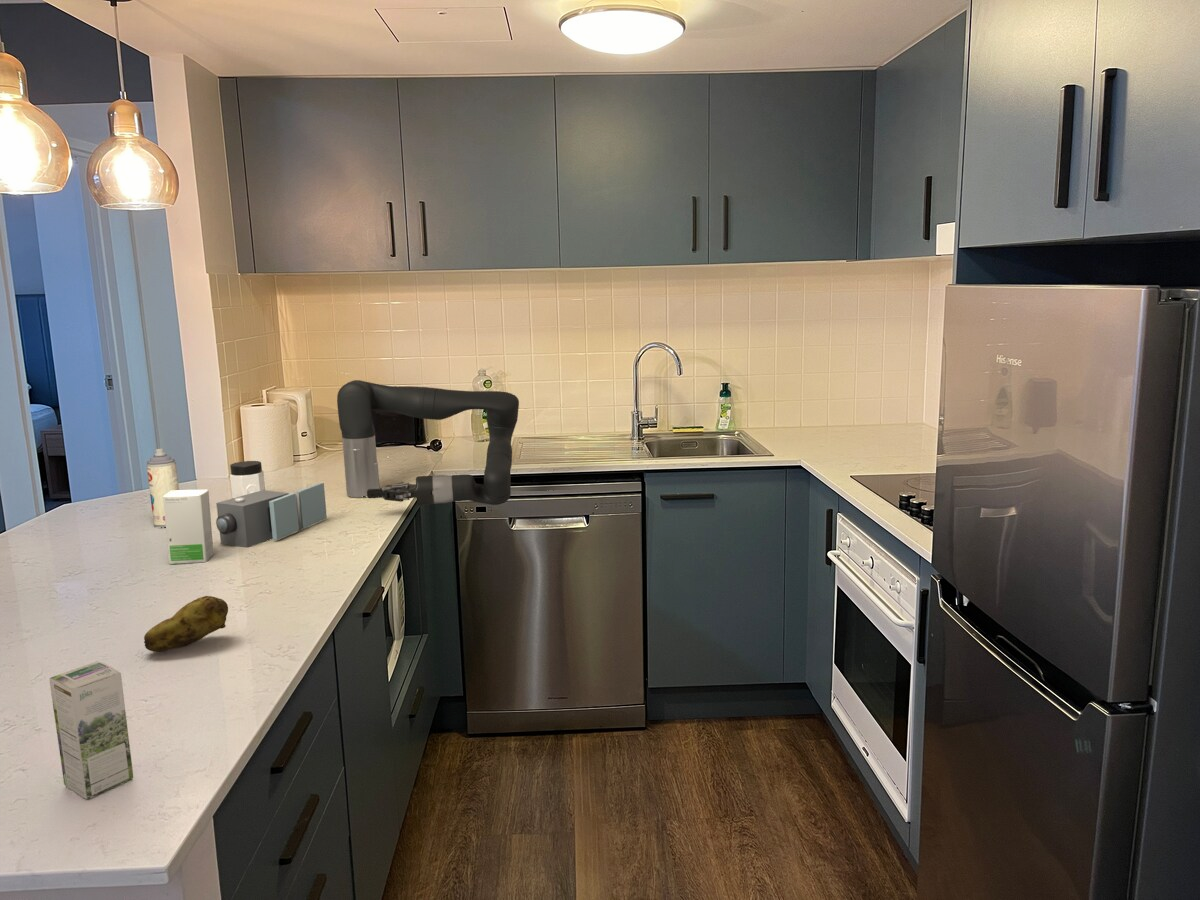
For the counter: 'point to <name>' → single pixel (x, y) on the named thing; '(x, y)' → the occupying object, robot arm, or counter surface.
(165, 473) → the aerosol can
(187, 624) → the potato
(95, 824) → the counter surface
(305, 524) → the side door
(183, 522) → the skincare box
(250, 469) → the jar
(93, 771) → the syrup box
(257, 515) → the block
